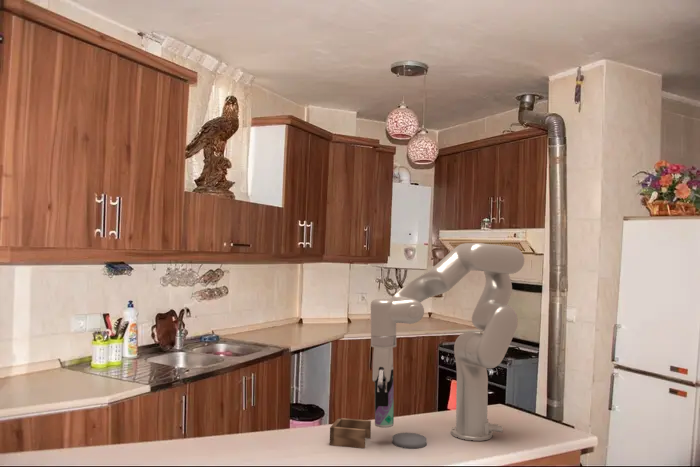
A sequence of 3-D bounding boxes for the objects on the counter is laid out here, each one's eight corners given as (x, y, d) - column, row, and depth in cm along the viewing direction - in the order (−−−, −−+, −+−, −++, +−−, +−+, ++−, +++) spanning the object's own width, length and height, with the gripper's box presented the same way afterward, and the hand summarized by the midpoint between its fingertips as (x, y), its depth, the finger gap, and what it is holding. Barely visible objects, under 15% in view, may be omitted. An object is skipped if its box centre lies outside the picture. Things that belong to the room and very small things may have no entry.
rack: (370, 437, 170) (370, 420, 171) (364, 448, 160) (364, 430, 160) (337, 434, 172) (338, 417, 173) (329, 445, 162) (330, 427, 162)
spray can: (378, 428, 162) (378, 358, 162) (372, 422, 167) (372, 355, 168) (396, 426, 163) (395, 357, 164) (389, 421, 168) (389, 354, 169)
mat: (427, 439, 170) (427, 434, 170) (425, 450, 160) (425, 444, 160) (394, 436, 172) (394, 431, 172) (390, 446, 162) (390, 441, 162)
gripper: (375, 336, 175) (376, 395, 174) (366, 345, 158) (366, 410, 158) (399, 337, 173) (400, 396, 173) (392, 346, 157) (393, 411, 156)
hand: (384, 402), depth 165 cm, fingers closed on spray can, 5 cm apart
